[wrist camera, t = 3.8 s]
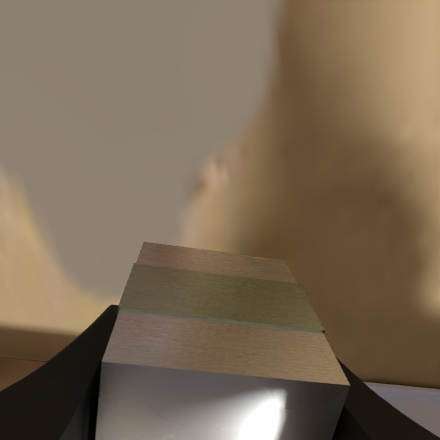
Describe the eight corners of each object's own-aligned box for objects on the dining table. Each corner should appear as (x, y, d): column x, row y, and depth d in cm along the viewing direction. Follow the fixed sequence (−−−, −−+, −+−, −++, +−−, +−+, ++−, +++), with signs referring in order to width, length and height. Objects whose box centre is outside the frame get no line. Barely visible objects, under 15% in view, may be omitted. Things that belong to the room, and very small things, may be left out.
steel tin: (287, 259, 13) (353, 383, 8) (258, 374, 15) (296, 548, 9) (142, 240, 13) (99, 359, 7) (128, 362, 14) (85, 539, 9)
